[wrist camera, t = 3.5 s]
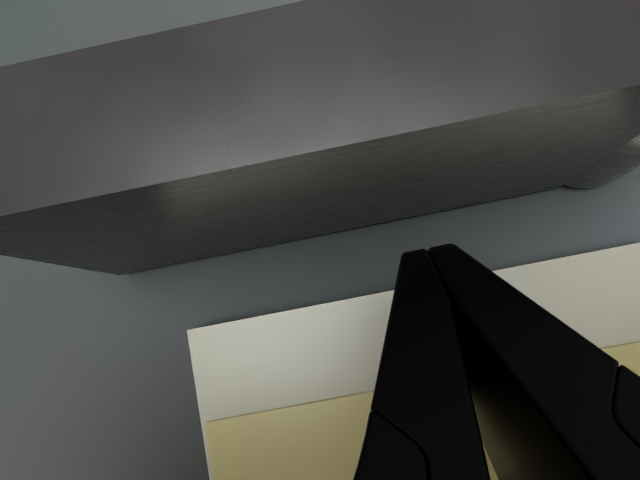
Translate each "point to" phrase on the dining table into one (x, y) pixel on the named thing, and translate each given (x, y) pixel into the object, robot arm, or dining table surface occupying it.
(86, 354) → the dining table surface
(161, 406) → the dining table surface
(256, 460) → the label board
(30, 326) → the dining table surface
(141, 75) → the swing panel
